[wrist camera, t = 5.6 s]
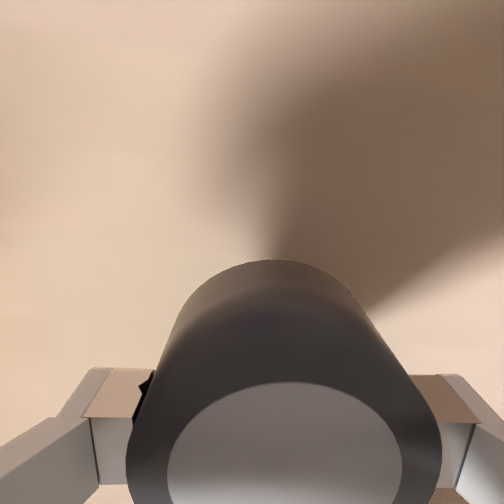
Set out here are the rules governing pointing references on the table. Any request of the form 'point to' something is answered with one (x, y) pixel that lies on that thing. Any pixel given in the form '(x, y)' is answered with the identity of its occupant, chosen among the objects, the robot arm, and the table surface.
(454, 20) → the table surface
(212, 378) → the camera lens
